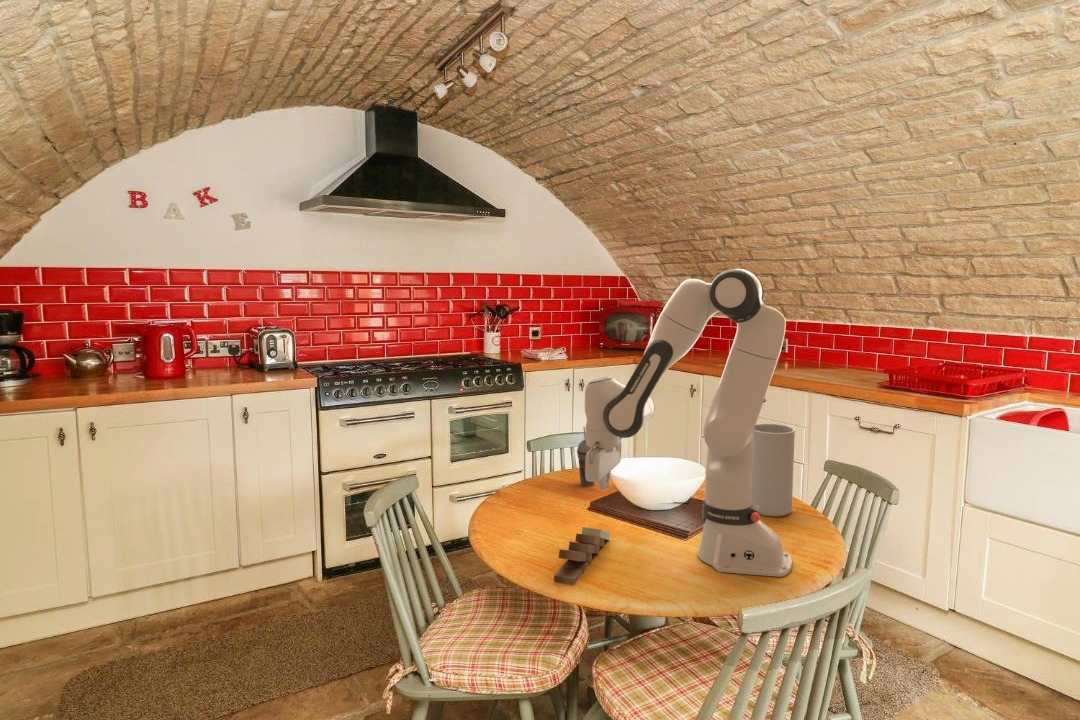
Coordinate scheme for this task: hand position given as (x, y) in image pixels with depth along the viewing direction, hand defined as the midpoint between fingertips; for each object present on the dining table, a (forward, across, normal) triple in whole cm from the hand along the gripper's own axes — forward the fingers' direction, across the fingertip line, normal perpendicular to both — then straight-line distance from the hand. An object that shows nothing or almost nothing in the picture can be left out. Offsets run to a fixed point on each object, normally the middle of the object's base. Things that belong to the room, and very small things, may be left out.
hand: (604, 488), depth 178 cm
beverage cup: (+13, +42, +20) cm, 48 cm away
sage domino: (+13, -1, +1) cm, 13 cm away
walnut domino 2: (+13, -19, +1) cm, 23 cm away
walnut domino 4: (+13, -10, +1) cm, 16 cm away
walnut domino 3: (+13, -6, +1) cm, 14 cm away
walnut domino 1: (+13, -16, +1) cm, 20 cm away
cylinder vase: (+16, +38, -39) cm, 57 cm away
